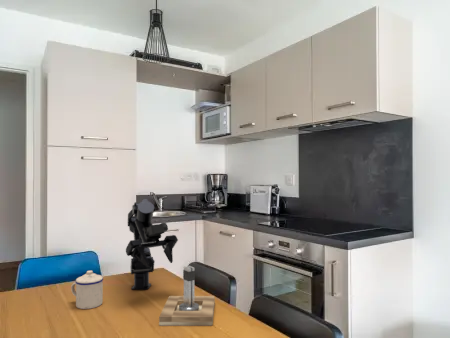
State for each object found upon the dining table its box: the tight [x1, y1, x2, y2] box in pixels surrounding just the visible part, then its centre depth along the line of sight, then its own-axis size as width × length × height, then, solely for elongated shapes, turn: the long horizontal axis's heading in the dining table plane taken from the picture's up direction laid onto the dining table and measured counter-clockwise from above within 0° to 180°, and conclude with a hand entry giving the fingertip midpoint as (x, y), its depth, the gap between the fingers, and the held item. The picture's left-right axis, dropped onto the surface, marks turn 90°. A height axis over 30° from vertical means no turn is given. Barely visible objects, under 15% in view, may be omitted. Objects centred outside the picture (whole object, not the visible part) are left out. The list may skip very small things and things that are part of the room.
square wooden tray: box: [158, 295, 216, 327], centre depth 112 cm, size 18×16×2 cm
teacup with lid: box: [70, 270, 104, 310], centre depth 120 cm, size 12×9×12 cm
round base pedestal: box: [179, 265, 199, 311], centre depth 112 cm, size 6×6×14 cm
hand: (160, 264), depth 121 cm, fingers open, 9 cm apart
